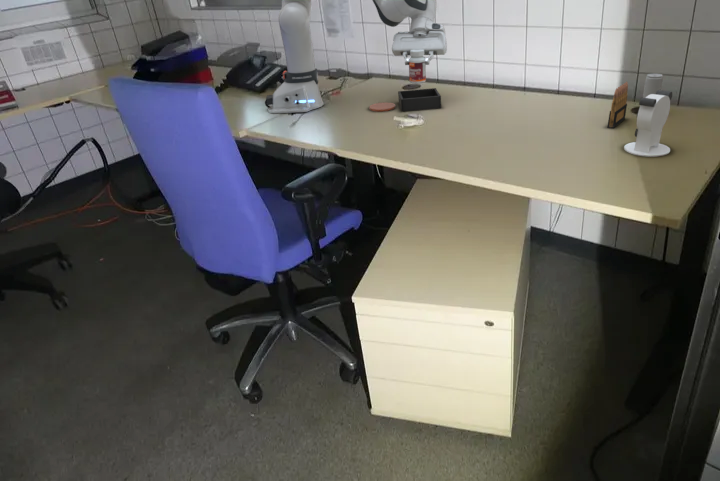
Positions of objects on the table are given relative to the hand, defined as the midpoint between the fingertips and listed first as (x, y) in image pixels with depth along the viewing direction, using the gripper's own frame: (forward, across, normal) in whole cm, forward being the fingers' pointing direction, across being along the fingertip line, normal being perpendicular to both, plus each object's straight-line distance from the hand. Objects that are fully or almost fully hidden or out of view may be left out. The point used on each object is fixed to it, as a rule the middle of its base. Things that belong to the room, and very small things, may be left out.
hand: (417, 64), depth 200 cm
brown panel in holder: (+25, +67, -4) cm, 72 cm away
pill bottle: (+4, 0, +5) cm, 7 cm away
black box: (+10, 0, +12) cm, 16 cm away
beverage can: (+17, +78, +5) cm, 80 cm away
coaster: (+13, -13, +9) cm, 21 cm away
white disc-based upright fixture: (+42, +73, -20) cm, 86 cm away
